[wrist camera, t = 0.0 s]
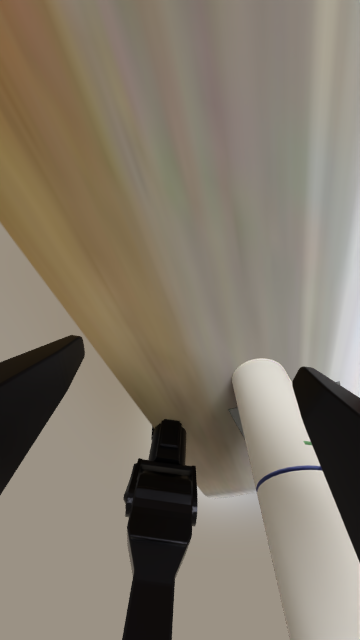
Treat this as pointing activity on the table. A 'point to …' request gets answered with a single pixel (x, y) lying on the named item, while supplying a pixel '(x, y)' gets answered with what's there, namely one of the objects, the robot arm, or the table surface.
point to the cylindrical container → (297, 509)
